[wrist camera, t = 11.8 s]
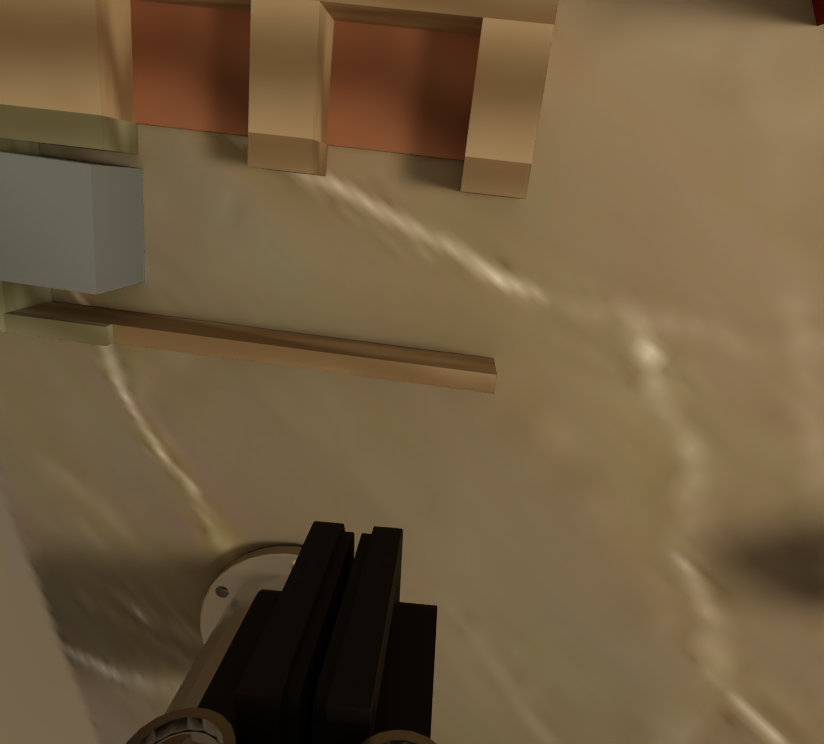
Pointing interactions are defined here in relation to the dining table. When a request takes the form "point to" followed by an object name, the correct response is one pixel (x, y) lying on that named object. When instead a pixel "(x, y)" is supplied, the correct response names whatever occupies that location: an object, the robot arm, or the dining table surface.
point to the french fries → (819, 11)
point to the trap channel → (276, 124)
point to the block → (70, 223)
